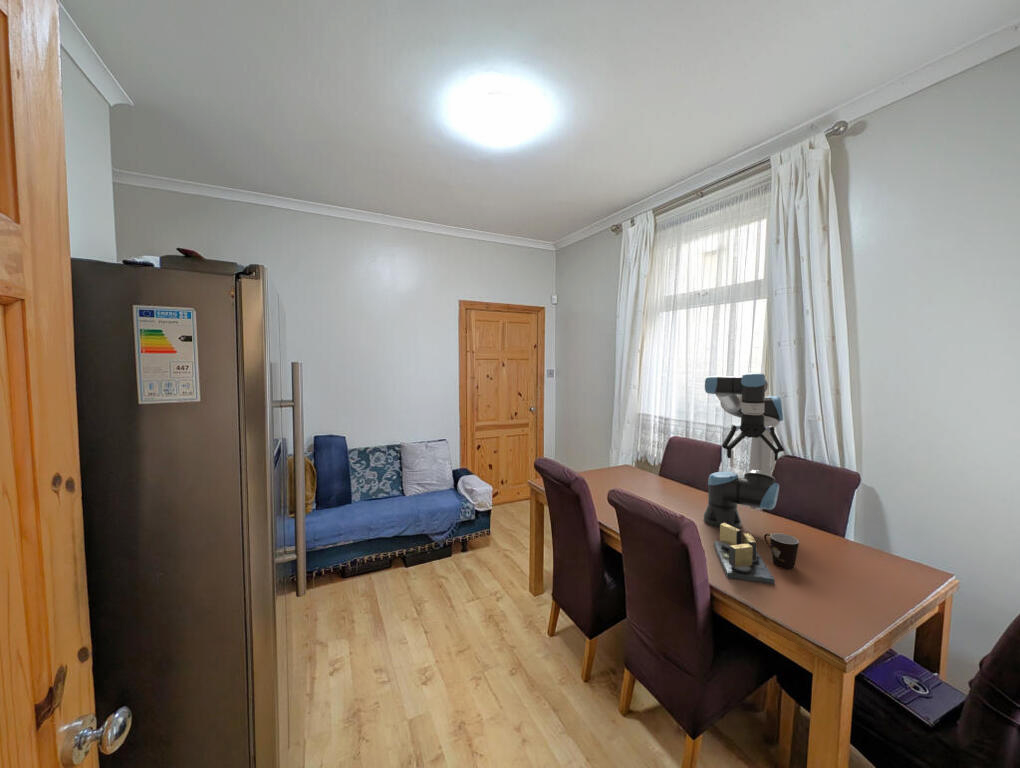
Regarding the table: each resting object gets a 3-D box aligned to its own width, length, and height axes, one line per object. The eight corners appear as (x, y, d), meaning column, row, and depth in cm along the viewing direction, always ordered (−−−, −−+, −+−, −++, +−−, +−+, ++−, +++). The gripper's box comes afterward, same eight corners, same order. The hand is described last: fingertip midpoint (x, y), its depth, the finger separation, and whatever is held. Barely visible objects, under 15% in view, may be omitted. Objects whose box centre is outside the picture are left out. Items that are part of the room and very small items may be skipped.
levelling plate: (713, 545, 155) (713, 539, 155) (753, 550, 151) (753, 544, 151) (727, 578, 132) (727, 571, 132) (774, 584, 128) (774, 577, 128)
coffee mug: (803, 572, 135) (804, 545, 134) (776, 570, 137) (776, 543, 136) (786, 555, 146) (787, 530, 146) (761, 554, 148) (762, 528, 147)
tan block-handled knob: (716, 544, 152) (716, 524, 151) (727, 541, 154) (727, 522, 153) (733, 552, 145) (734, 532, 144) (744, 549, 147) (744, 529, 147)
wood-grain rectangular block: (737, 552, 145) (737, 532, 144) (755, 555, 143) (755, 534, 142) (742, 562, 138) (742, 541, 137) (761, 565, 136) (762, 543, 136)
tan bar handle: (742, 562, 138) (743, 541, 138) (756, 571, 132) (756, 549, 132) (725, 564, 137) (725, 543, 136) (738, 574, 131) (738, 551, 130)
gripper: (717, 414, 147) (716, 467, 149) (794, 415, 138) (793, 473, 140) (714, 411, 154) (713, 462, 156) (788, 412, 145) (786, 467, 147)
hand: (751, 467), depth 148 cm, fingers open, 13 cm apart
